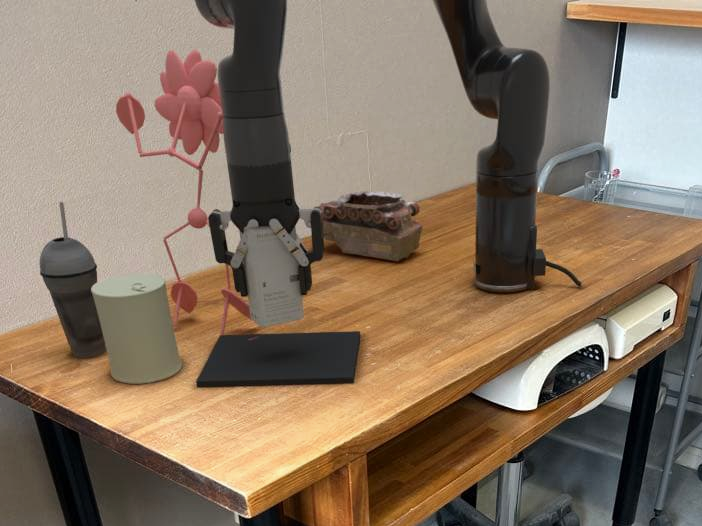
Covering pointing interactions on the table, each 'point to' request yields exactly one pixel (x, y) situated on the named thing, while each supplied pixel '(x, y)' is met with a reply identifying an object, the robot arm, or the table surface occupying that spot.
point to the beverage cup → (73, 292)
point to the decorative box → (372, 224)
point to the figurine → (186, 146)
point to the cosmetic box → (271, 278)
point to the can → (137, 327)
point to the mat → (281, 359)
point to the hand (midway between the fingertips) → (274, 294)
